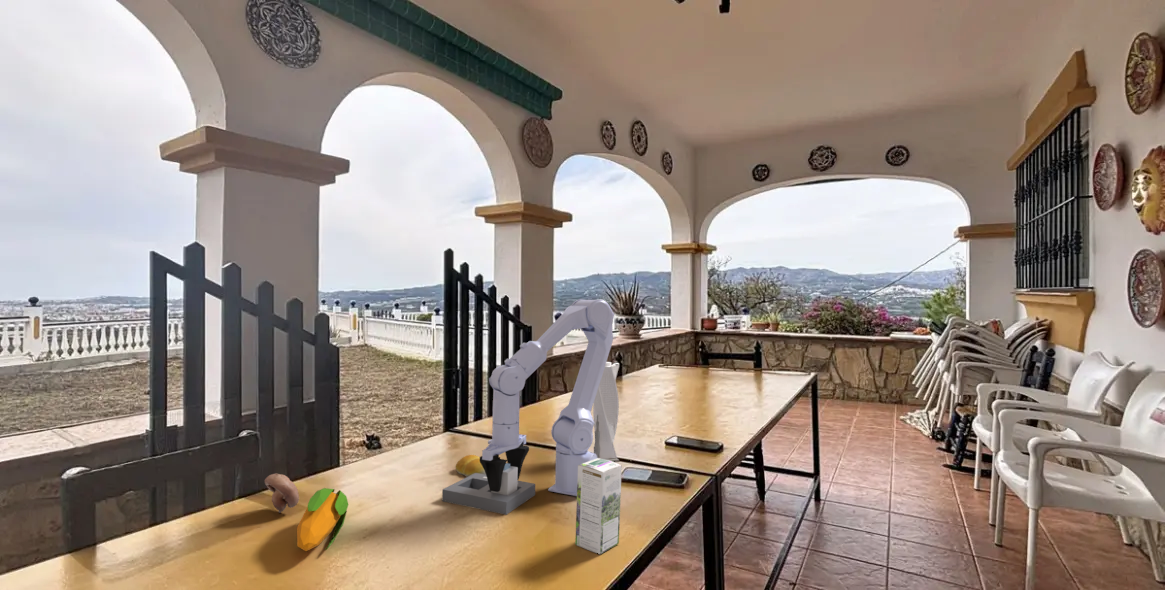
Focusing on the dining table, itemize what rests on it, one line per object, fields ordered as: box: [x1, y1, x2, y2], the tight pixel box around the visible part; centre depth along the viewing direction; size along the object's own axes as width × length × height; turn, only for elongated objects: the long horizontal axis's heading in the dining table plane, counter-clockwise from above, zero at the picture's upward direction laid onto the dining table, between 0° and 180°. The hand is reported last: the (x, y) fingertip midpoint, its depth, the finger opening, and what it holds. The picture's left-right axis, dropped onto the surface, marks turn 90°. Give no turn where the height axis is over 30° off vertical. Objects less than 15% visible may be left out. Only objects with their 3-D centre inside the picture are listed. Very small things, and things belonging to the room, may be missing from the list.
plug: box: [491, 462, 519, 496], centre depth 113 cm, size 4×4×8 cm
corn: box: [296, 487, 349, 552], centre depth 93 cm, size 7×8×20 cm
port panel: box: [441, 473, 536, 516], centre depth 114 cm, size 16×12×3 cm
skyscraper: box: [592, 361, 620, 462], centre depth 146 cm, size 8×8×28 cm
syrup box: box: [574, 458, 622, 555], centre depth 93 cm, size 6×6×14 cm
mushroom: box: [264, 473, 300, 513], centre depth 104 cm, size 8×6×8 cm
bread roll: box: [455, 454, 486, 477], centre depth 132 cm, size 8×9×4 cm
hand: (504, 485), depth 113 cm, fingers open, 7 cm apart
